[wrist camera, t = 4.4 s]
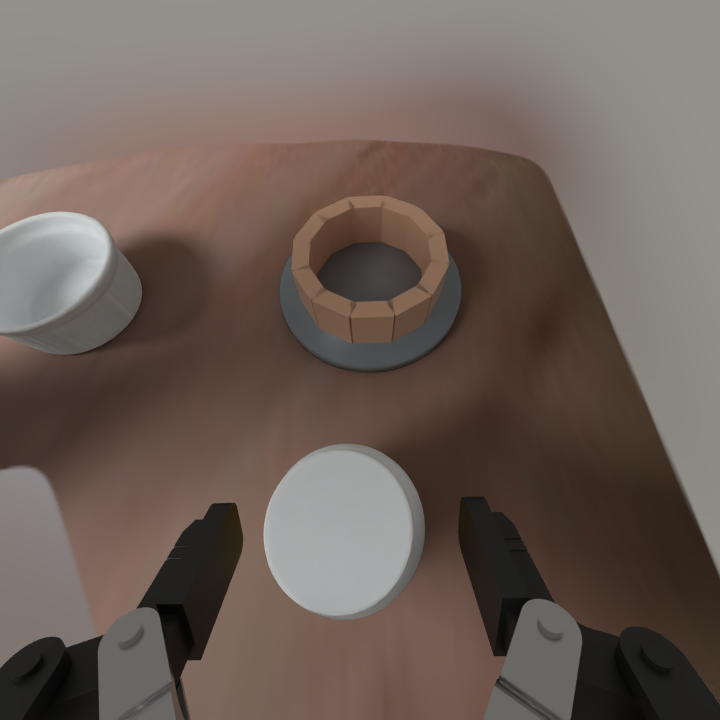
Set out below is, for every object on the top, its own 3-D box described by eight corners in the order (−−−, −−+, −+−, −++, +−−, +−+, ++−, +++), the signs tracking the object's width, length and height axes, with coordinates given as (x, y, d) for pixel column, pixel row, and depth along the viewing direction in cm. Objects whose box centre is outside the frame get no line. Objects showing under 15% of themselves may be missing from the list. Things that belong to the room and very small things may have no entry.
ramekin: (163, 253, 26) (126, 206, 22) (136, 360, 22) (85, 327, 18) (47, 259, 26) (-11, 214, 22) (0, 367, 22) (-79, 335, 18)
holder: (247, 324, 23) (224, 287, 19) (337, 207, 27) (332, 159, 24) (412, 405, 20) (421, 381, 17) (483, 261, 24) (503, 217, 21)
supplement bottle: (372, 448, 19) (372, 390, 10) (428, 541, 17) (486, 567, 8) (285, 501, 18) (205, 485, 9) (334, 607, 16) (289, 712, 7)
